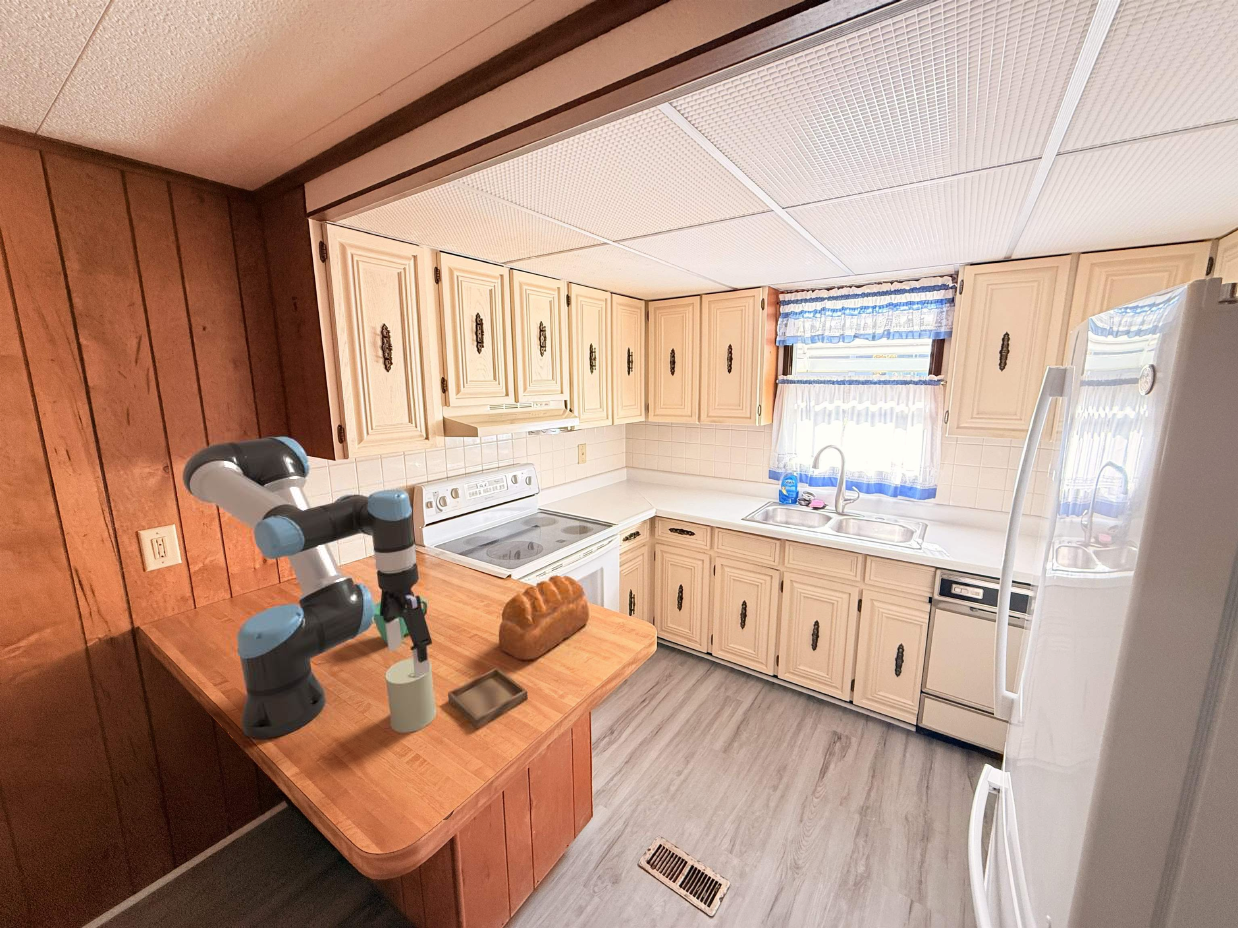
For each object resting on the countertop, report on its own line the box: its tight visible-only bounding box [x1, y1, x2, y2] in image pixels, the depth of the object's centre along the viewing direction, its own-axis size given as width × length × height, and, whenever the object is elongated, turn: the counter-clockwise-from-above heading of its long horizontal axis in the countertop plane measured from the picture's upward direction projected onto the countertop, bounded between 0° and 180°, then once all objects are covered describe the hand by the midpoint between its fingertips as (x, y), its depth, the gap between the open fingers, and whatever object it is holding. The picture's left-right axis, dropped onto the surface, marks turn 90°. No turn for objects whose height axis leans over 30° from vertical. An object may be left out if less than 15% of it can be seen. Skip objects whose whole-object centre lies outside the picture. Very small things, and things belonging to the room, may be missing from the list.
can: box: [384, 657, 438, 734], centre depth 103 cm, size 9×9×12 cm
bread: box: [498, 574, 590, 661], centre depth 134 cm, size 14×26×16 cm, turn 145°
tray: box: [447, 667, 528, 730], centre depth 109 cm, size 13×13×2 cm
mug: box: [373, 597, 428, 644], centre depth 136 cm, size 15×10×10 cm
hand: (408, 660), depth 101 cm, fingers open, 13 cm apart
